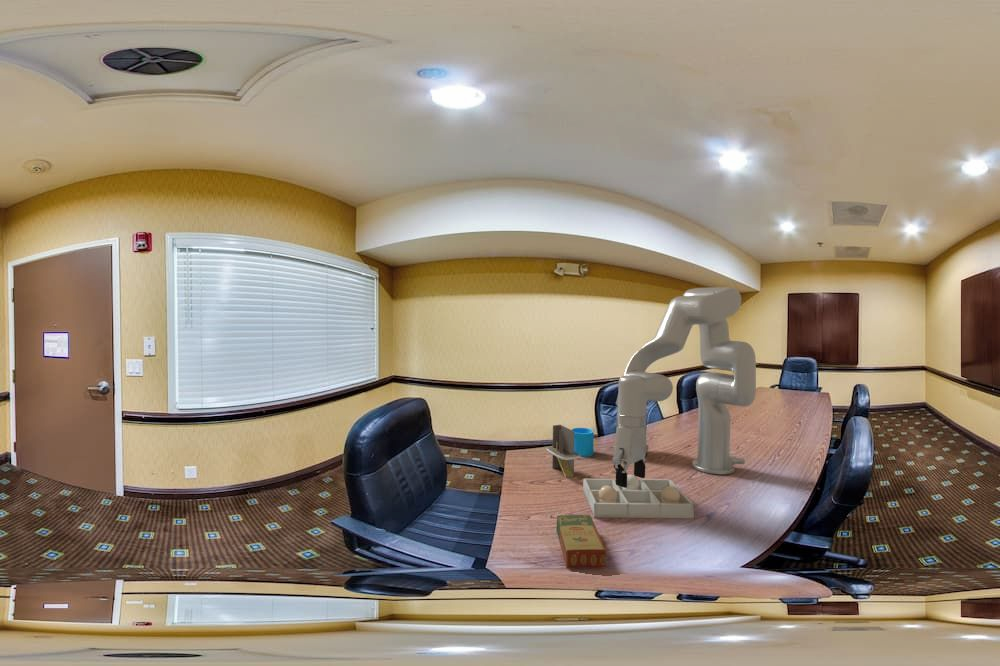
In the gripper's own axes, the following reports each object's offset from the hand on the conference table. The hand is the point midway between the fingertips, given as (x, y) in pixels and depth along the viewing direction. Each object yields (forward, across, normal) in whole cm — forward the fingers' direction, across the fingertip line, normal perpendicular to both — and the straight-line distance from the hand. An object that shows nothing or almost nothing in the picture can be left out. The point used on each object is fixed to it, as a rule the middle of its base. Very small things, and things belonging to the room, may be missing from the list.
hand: (630, 481), depth 126 cm
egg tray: (+4, +3, +3) cm, 6 cm away
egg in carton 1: (+4, +12, 0) cm, 12 cm away
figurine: (+5, -35, -20) cm, 41 cm away
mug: (+5, -20, -32) cm, 39 cm away
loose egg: (+4, 0, 0) cm, 4 cm away
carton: (+5, +32, +6) cm, 33 cm away
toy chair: (+5, -1, -25) cm, 25 cm away
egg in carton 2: (+4, 0, +12) cm, 12 cm away
